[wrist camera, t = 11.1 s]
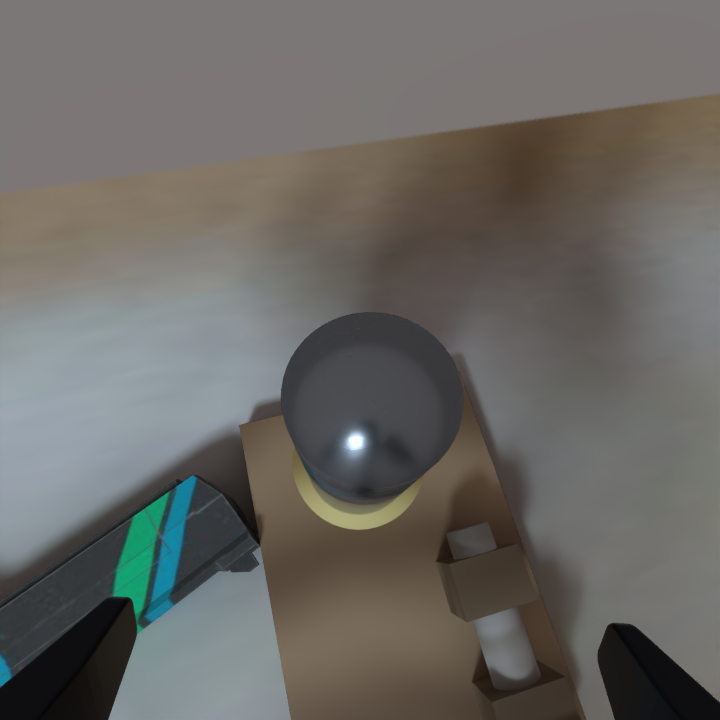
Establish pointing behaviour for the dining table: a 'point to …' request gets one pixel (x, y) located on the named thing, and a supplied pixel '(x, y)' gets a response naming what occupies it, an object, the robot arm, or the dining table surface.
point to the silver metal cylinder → (370, 408)
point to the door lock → (405, 594)
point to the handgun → (130, 568)
